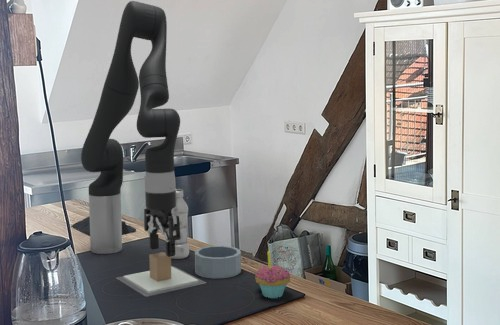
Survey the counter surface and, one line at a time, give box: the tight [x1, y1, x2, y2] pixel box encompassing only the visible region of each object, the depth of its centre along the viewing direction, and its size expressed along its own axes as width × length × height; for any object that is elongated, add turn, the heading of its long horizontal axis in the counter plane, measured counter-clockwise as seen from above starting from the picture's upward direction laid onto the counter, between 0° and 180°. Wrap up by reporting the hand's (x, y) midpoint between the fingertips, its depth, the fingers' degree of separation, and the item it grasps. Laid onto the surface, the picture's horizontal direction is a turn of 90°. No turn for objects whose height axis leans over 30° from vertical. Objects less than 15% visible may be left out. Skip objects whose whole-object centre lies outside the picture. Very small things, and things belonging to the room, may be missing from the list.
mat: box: [115, 265, 207, 298], centre depth 165 cm, size 17×17×1 cm
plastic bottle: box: [168, 188, 190, 260], centre depth 185 cm, size 6×7×20 cm
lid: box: [123, 251, 199, 294], centre depth 165 cm, size 14×14×7 cm
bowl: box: [194, 245, 242, 280], centre depth 173 cm, size 12×12×6 cm
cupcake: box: [254, 248, 291, 299], centre depth 157 cm, size 9×8×12 cm
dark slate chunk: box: [70, 215, 137, 237], centre depth 219 cm, size 15×22×5 cm
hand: (162, 252), depth 164 cm, fingers open, 8 cm apart
